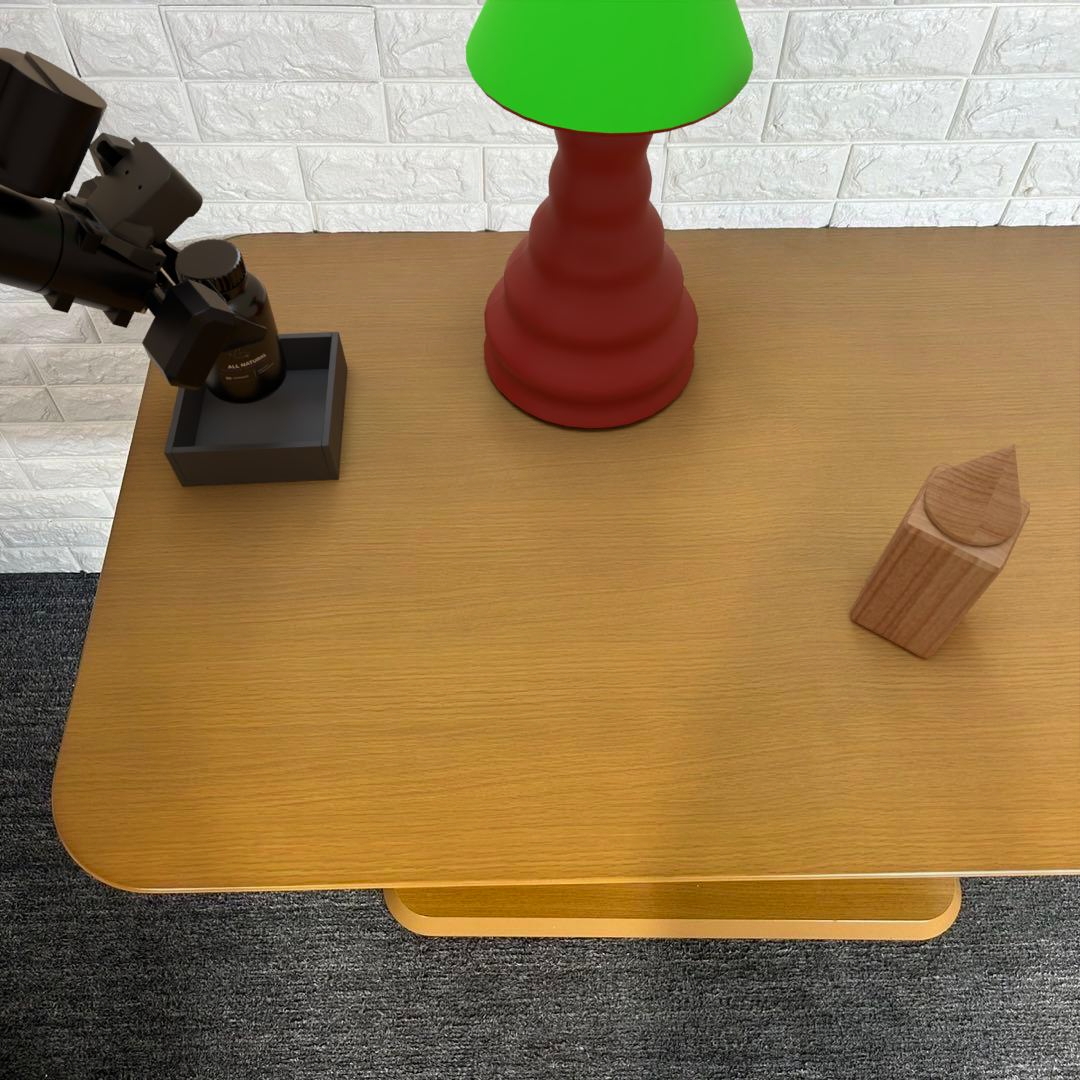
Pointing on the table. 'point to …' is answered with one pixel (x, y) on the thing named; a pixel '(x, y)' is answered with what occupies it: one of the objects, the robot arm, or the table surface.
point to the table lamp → (600, 197)
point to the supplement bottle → (254, 365)
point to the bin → (266, 423)
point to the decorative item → (944, 552)
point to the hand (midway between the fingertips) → (242, 309)
